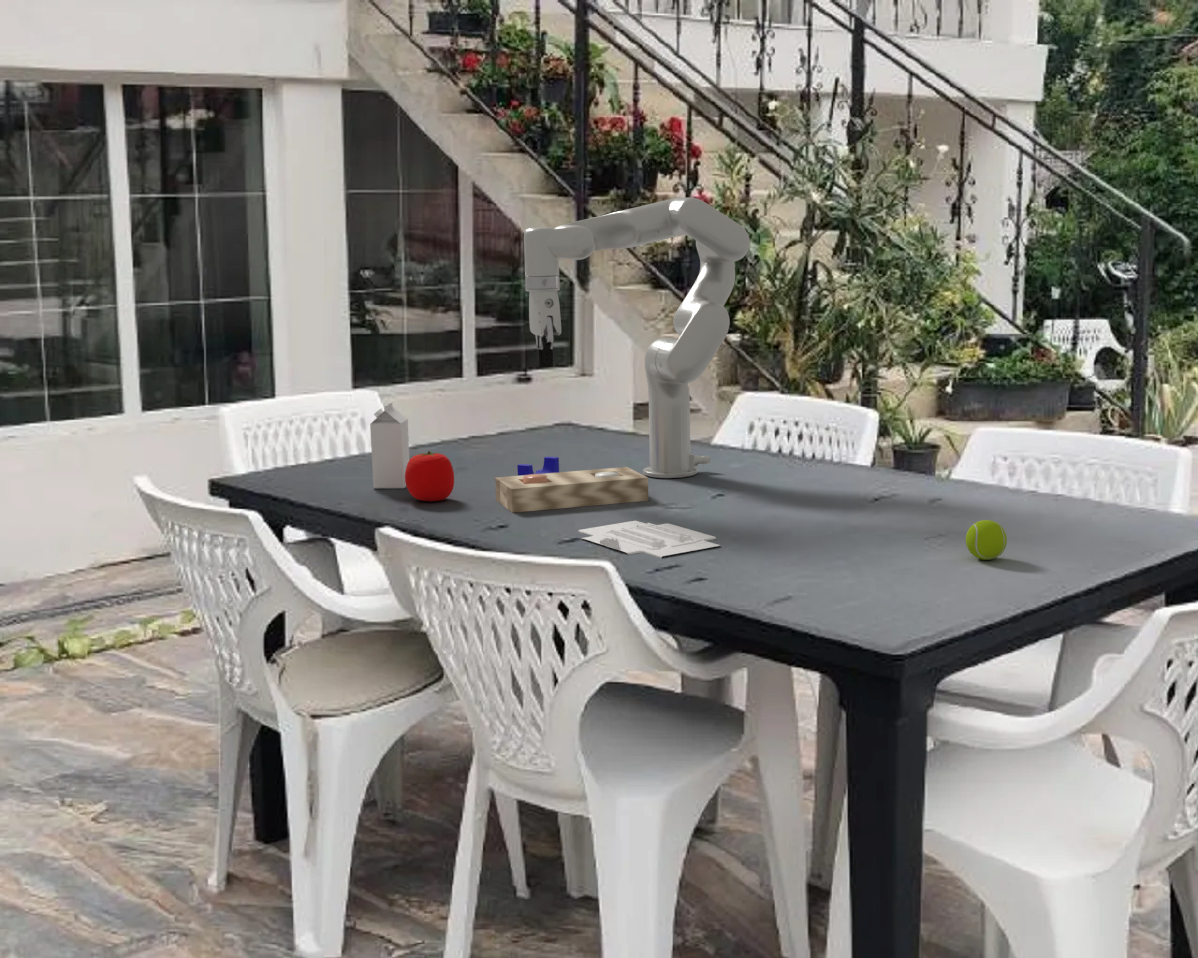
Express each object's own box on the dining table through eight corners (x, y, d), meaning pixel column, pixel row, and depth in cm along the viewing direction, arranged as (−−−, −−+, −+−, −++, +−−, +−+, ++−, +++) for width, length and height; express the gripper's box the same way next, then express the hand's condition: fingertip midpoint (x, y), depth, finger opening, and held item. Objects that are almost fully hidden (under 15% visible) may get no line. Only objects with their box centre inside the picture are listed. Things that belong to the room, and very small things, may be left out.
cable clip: (543, 481, 350) (542, 456, 349) (559, 483, 348) (558, 457, 347) (512, 490, 341) (511, 464, 339) (529, 492, 338) (528, 465, 337)
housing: (627, 489, 338) (626, 466, 337) (648, 500, 325) (648, 477, 324) (496, 500, 329) (495, 477, 328) (512, 512, 316) (511, 489, 315)
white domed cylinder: (614, 492, 333) (613, 471, 332) (621, 496, 328) (621, 475, 327) (592, 494, 331) (592, 473, 330) (599, 498, 326) (599, 476, 325)
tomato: (447, 505, 325) (445, 456, 323) (400, 504, 327) (397, 455, 325) (461, 496, 335) (459, 447, 333) (415, 495, 337) (413, 447, 335)
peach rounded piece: (543, 495, 328) (543, 473, 327) (550, 499, 323) (549, 477, 322) (521, 497, 326) (520, 475, 325) (527, 501, 322) (526, 479, 321)
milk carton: (410, 483, 351) (407, 401, 348) (404, 489, 345) (399, 405, 341) (380, 483, 352) (376, 401, 349) (373, 489, 345) (368, 406, 342)
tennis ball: (999, 554, 271) (1000, 515, 270) (1011, 563, 264) (1012, 524, 263) (960, 555, 271) (961, 516, 270) (971, 564, 264) (972, 525, 263)
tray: (649, 522, 306) (649, 504, 306) (736, 553, 284) (736, 533, 283) (563, 537, 295) (563, 518, 294) (647, 570, 273) (647, 550, 272)
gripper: (568, 285, 330) (571, 369, 333) (549, 281, 344) (552, 362, 347) (535, 286, 327) (538, 371, 331) (517, 283, 341) (520, 364, 345)
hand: (545, 366), depth 339 cm, fingers closed
